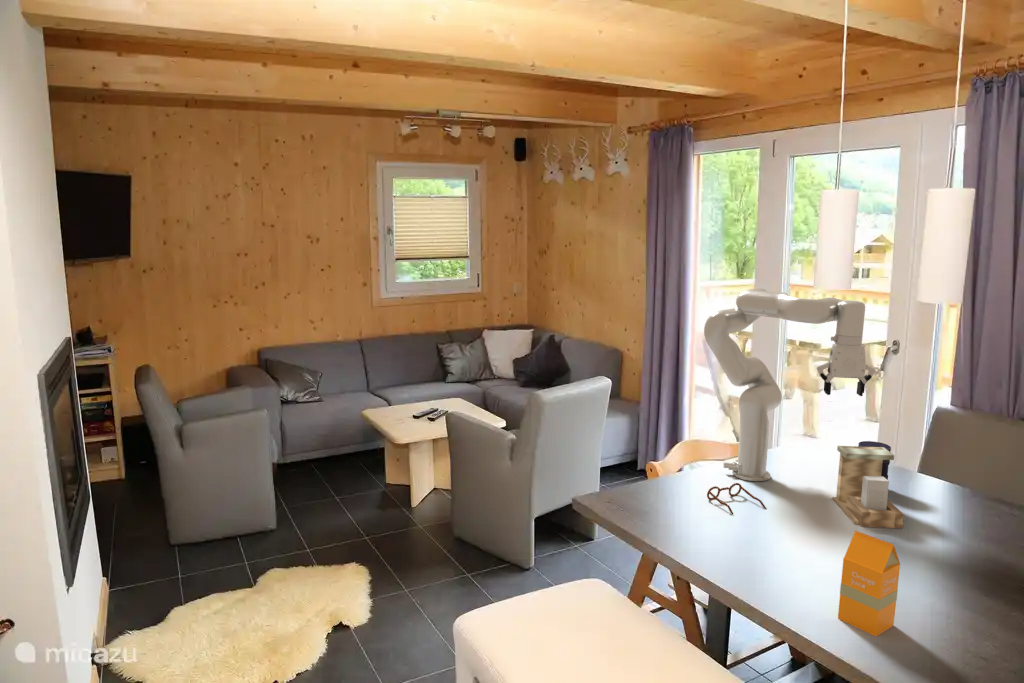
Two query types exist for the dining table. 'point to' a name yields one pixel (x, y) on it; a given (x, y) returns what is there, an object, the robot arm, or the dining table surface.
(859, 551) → the orange juice
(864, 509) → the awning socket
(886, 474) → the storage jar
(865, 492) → the skincare box
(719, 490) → the glasses
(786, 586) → the dining table surface
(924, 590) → the dining table surface
